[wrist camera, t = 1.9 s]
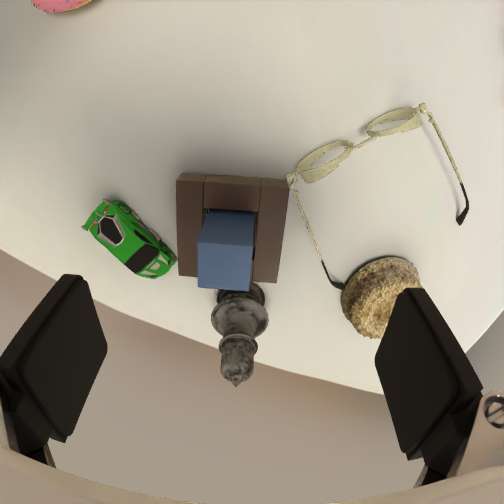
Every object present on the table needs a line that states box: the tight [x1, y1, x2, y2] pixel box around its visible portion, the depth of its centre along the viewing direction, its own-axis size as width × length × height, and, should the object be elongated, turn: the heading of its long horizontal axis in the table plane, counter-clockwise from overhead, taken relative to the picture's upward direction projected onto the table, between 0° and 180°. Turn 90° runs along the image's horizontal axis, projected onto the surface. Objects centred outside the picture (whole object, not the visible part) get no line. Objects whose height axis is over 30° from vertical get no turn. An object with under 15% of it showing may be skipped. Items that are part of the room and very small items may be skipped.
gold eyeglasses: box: [285, 103, 469, 290], centre depth 27 cm, size 17×15×5 cm
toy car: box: [82, 199, 177, 279], centre depth 30 cm, size 10×5×2 cm, turn 40°
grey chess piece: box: [211, 282, 269, 387], centre depth 30 cm, size 6×6×12 cm
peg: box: [197, 209, 254, 291], centre depth 27 cm, size 4×4×8 cm
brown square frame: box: [176, 173, 289, 283], centre depth 29 cm, size 10×10×2 cm
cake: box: [342, 257, 422, 339], centre depth 32 cm, size 10×10×5 cm
